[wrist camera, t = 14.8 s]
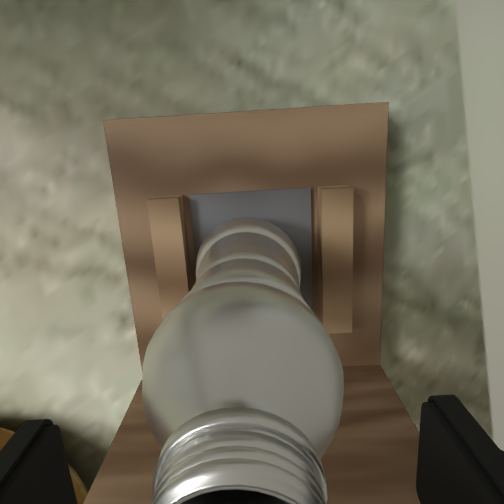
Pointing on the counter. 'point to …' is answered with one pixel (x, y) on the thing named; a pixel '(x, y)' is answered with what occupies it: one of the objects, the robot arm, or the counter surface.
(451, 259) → the counter surface
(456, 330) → the counter surface
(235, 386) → the plastic bottle
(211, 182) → the display stand
